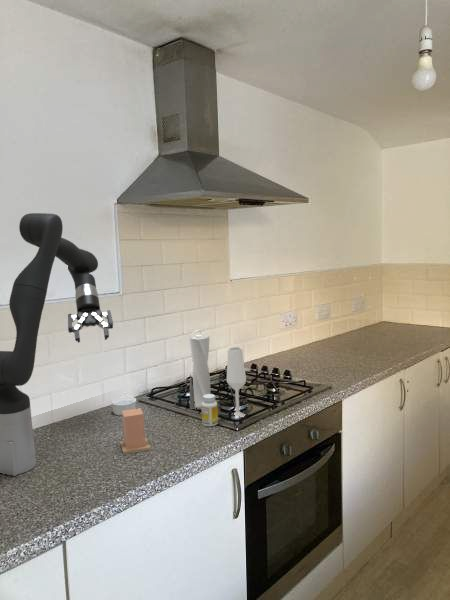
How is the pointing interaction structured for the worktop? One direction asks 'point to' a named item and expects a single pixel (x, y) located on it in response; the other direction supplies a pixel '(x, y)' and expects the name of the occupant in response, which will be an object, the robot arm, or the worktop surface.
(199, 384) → the skyscraper
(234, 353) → the champagne flute
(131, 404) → the ramekin
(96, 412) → the worktop surface
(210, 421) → the supplement bottle
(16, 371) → the robot arm
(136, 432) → the brown upright block
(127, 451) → the post
